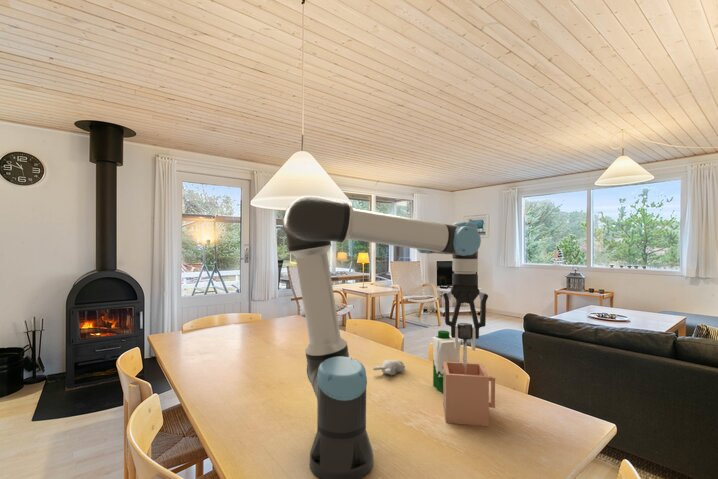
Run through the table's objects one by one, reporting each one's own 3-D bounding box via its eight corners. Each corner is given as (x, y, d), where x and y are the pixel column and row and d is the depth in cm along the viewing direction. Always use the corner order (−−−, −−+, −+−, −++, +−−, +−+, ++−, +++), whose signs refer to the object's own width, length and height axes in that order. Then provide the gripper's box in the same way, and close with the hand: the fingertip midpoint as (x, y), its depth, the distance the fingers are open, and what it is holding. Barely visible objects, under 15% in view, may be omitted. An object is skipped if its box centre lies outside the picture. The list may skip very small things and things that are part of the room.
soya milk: (450, 382, 135) (451, 329, 135) (464, 392, 126) (464, 335, 127) (429, 385, 133) (429, 330, 133) (441, 395, 124) (441, 337, 124)
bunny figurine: (410, 360, 148) (391, 366, 136) (409, 373, 148) (390, 380, 136) (390, 356, 154) (370, 361, 142) (389, 368, 153) (369, 374, 141)
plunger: (481, 403, 105) (482, 328, 105) (451, 400, 107) (451, 327, 107) (477, 391, 114) (477, 322, 114) (448, 389, 115) (448, 320, 115)
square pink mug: (498, 427, 103) (499, 378, 103) (445, 422, 105) (446, 374, 105) (490, 408, 115) (490, 364, 115) (443, 404, 117) (443, 361, 117)
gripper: (492, 272, 113) (492, 346, 113) (435, 271, 116) (435, 343, 116) (497, 274, 105) (497, 354, 105) (436, 273, 108) (436, 350, 108)
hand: (464, 348), depth 110 cm, fingers closed on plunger, 4 cm apart
